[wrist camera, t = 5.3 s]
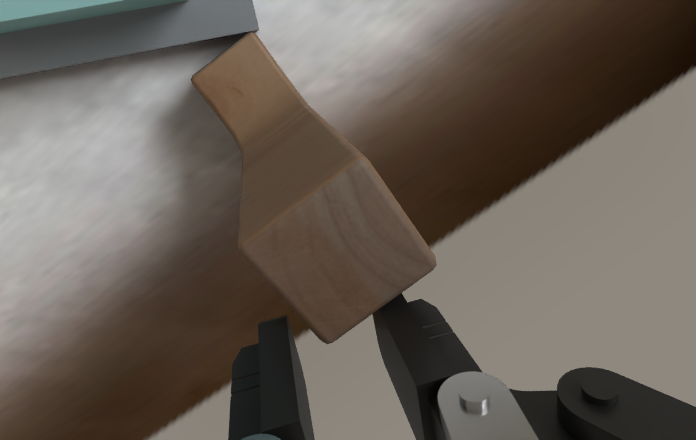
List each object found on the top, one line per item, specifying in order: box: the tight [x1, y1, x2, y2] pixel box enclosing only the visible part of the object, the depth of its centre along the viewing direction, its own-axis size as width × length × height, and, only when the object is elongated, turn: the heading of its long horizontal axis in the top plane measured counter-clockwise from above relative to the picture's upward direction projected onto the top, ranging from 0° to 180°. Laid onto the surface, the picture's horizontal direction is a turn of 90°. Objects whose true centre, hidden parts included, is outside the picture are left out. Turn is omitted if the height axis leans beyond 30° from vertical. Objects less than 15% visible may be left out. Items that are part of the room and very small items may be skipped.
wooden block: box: [191, 32, 436, 344], centre depth 16 cm, size 7×3×15 cm, turn 35°
